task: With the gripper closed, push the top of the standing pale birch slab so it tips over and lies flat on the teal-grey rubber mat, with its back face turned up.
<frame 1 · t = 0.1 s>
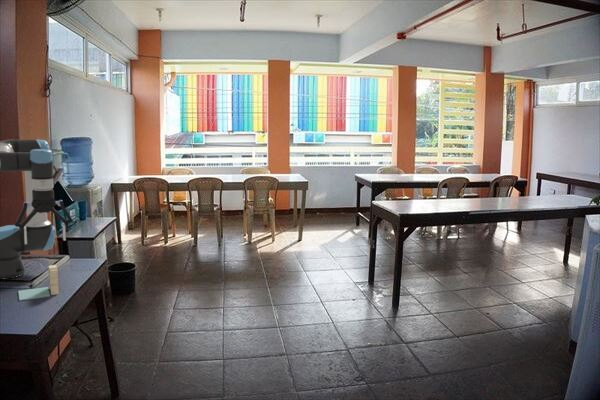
hand: (45, 241, 189), 28 cm above the table, fingers open, 13 cm apart
slab: (54, 291, 210), on the table
mat: (34, 294, 205), on the table
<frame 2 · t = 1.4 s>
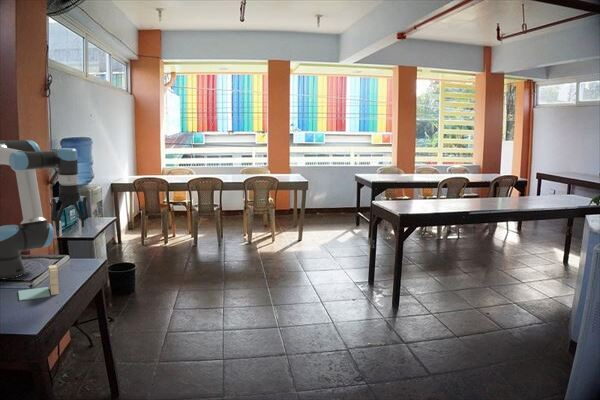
hand: (70, 235, 209), 25 cm above the table, fingers open, 7 cm apart
nothing on the table moved.
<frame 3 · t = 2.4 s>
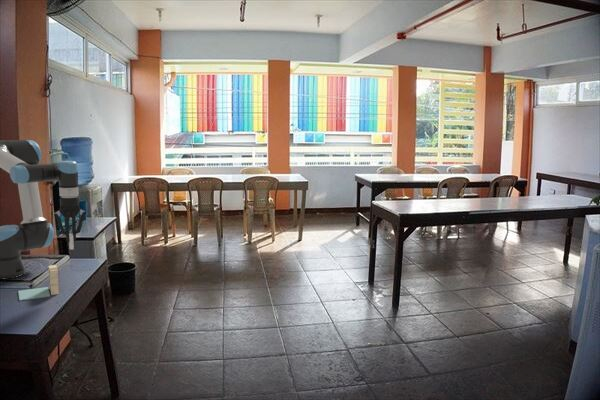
hand: (71, 248, 210), 19 cm above the table, fingers closed
nothing on the table moved.
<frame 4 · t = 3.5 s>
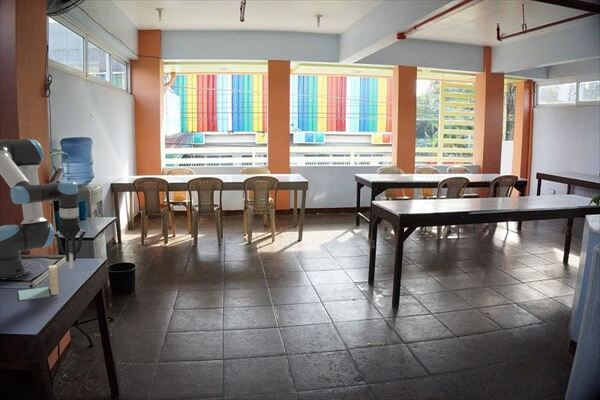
hand: (71, 267, 212), 10 cm above the table, fingers closed
nothing on the table moved.
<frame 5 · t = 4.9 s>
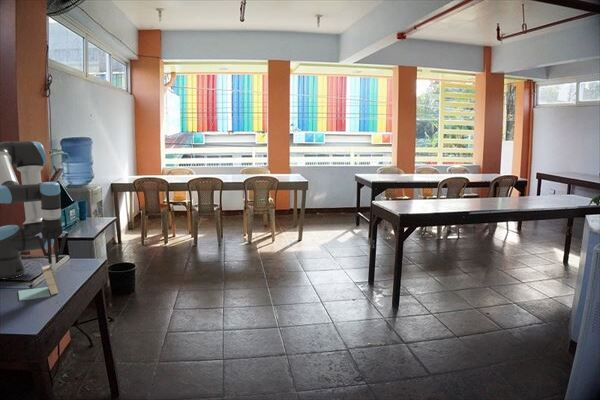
hand: (53, 270, 208), 10 cm above the table, fingers closed
slab: (54, 290, 210), on the table, tilted 13°
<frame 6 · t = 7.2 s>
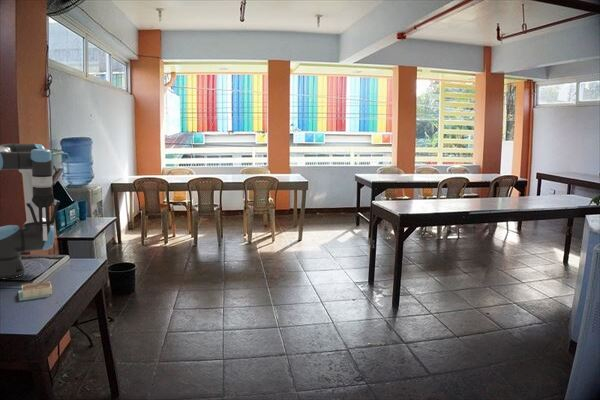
hand: (45, 239, 204), 24 cm above the table, fingers closed
slab: (51, 287, 209), point 2 cm above the table, tilted 90°, touching mat
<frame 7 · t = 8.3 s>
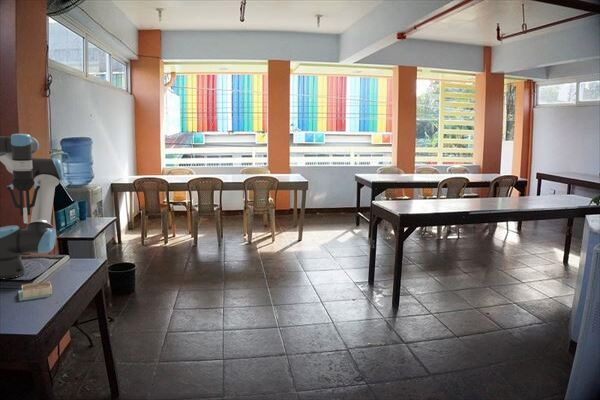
hand: (25, 222, 209), 29 cm above the table, fingers closed
nothing on the table moved.
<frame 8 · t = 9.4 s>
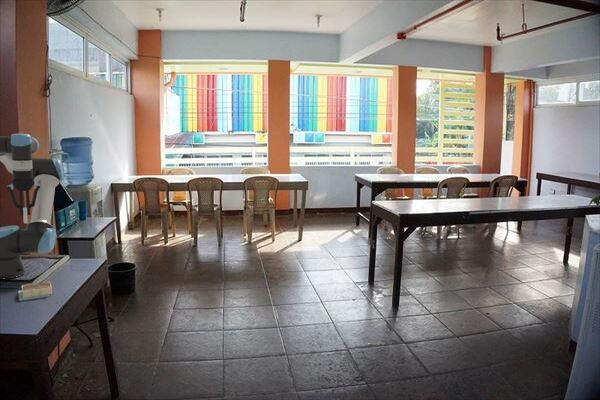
hand: (25, 222, 209), 29 cm above the table, fingers closed
nothing on the table moved.
at the end: slab tilted 90°; slab touching mat; slab inside the target area (0.9 cm from its centre), point 2.0 cm above the table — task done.
